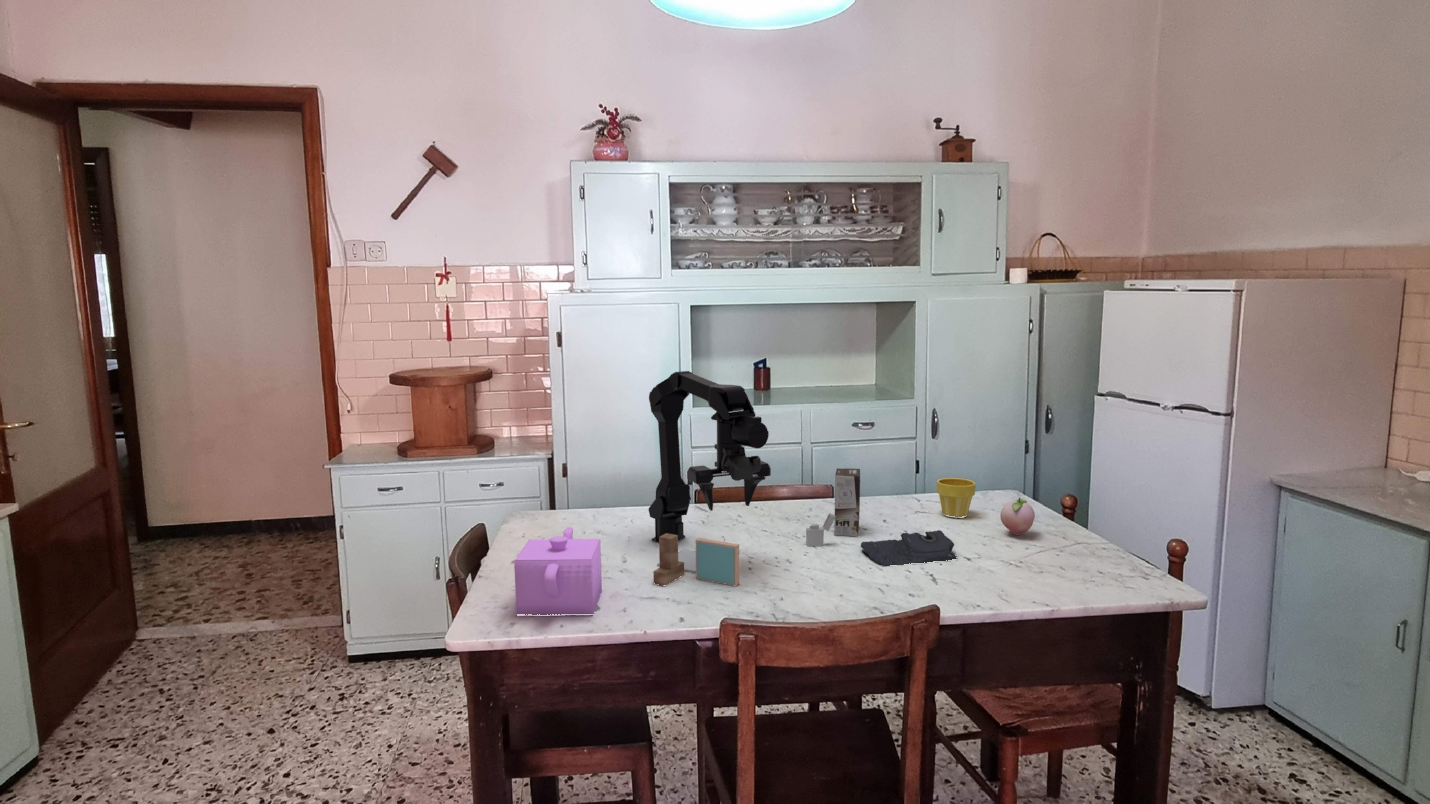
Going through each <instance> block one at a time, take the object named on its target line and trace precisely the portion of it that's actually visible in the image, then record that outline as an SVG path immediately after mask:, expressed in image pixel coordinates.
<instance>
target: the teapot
mask: <svg viewBox="0 0 1430 804" xmlns="http://www.w3.org/2000/svg"><path fill="white" fill-rule="evenodd" d="M573 533H574V528H573V527H566V528H565V529H564V531H563V535H555V536H553V537H551V538H548V539H547V538H546V539H542V538H541V539H539V538H538V539H537V538H536V539H528V540H527V542H526V544H525V545H524V546H523V548H522V549H521V550H520V552H519V553H518V555H517V556H516V558H515V559H514V562H513V565H514V584H515V585H514V586H515V587H514V588H515V592H514V593H515V611H516V612H515V614H525V615H526V614H527V615H528V614H532V615H537V614H538V615H539V614H540V615H547V614H548V615H550V614H551V615H552V614H554V615H555V614H557V615H558V614H560V615H561V614H594V615H595V613H594V611H595V612H596V610H597V607H596V605H597V606H598V604H599V601H600V598H601V595H600V594H602V591H603V589H602V585H603V584H602V580H603V579H602V552H601V549H602V548H601V539H600V538H573V535H574V534H573ZM599 597H600V598H599ZM597 603H598V604H597ZM595 609H596V610H595Z"/></svg>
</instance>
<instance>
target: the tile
mask: <svg viewBox="0 0 1430 804" xmlns="http://www.w3.org/2000/svg"><path fill="white" fill-rule="evenodd" d="M695 551H696V573H695V578H696V579H697V580H701V579H703V581H706V582H711V581H714V582H713V583H716V582H719V583H718V584H721V583H726V584H725V585H727V584H729V585H728V586H732V585H735V586H734V587H737V586H738V584H739V585H740V544H739V543H732V542H727V541H721V540H715V539H708V538H703V537H698V538H696V539H695Z"/></svg>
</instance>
